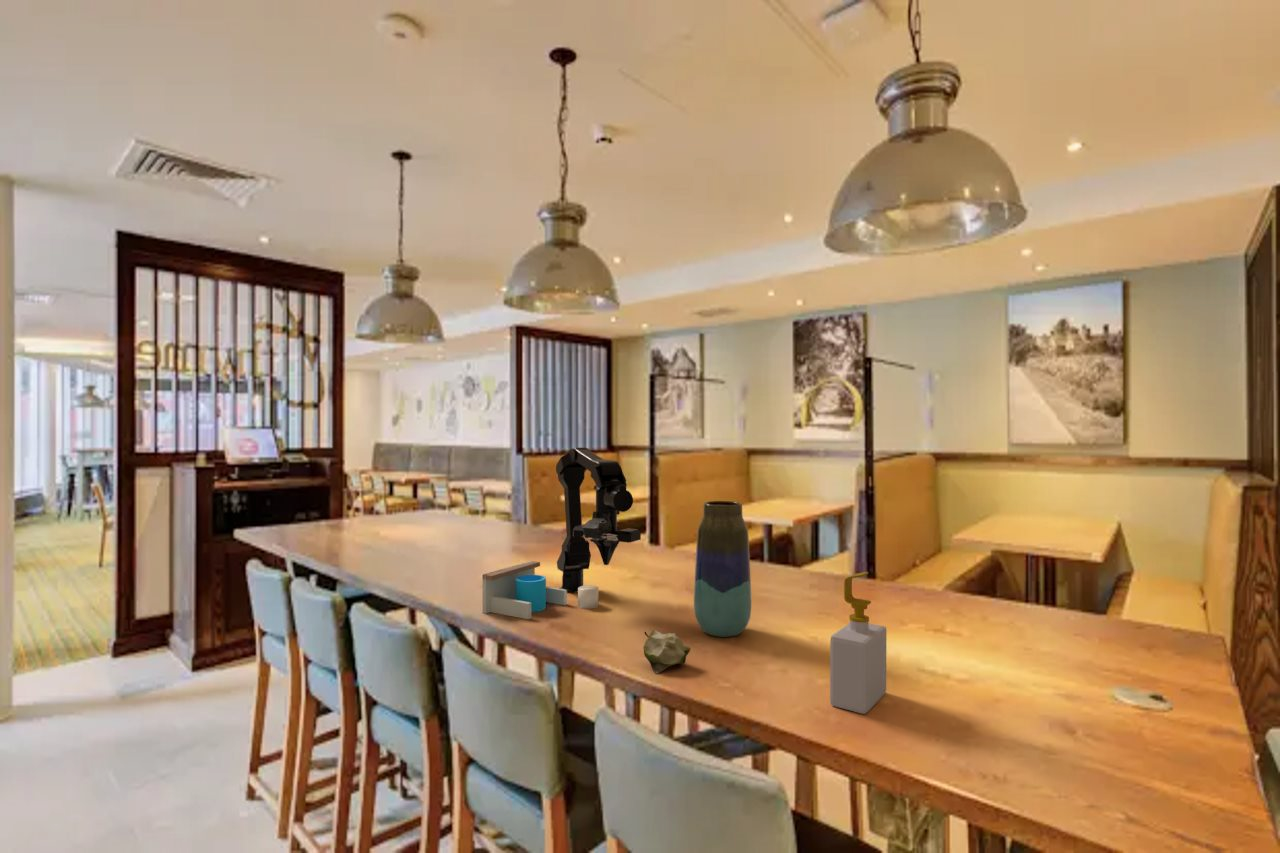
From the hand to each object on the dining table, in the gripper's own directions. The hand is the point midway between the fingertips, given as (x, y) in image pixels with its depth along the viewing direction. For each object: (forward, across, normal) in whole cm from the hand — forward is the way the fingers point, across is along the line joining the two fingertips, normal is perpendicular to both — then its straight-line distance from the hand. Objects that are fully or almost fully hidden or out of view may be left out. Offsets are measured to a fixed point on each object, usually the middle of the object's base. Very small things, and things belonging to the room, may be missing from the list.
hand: (606, 564), depth 178 cm
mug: (+12, -20, -9) cm, 25 cm away
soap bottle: (+12, +72, -25) cm, 77 cm away
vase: (+12, +35, -2) cm, 37 cm away
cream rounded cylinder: (+12, -6, 0) cm, 14 cm away
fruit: (+12, +33, -28) cm, 45 cm away
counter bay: (+12, -18, -10) cm, 24 cm away
